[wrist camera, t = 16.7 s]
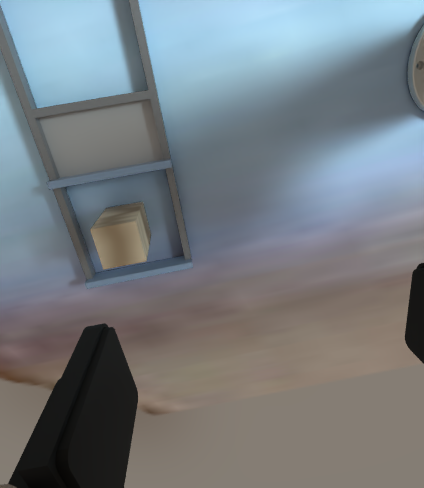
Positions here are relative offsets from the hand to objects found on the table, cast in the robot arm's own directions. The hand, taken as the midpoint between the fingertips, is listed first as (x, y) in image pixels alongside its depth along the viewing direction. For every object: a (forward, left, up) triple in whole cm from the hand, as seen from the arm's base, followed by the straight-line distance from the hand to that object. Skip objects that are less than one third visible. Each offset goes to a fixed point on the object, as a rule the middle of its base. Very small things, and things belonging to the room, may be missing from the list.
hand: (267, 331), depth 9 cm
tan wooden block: (+9, +4, -30) cm, 31 cm away
